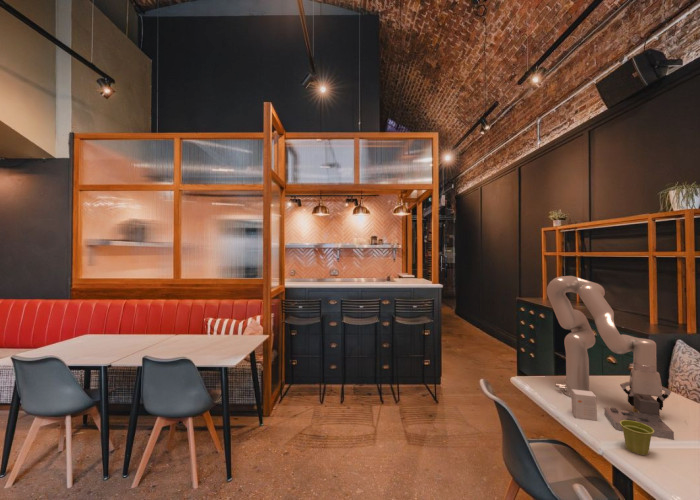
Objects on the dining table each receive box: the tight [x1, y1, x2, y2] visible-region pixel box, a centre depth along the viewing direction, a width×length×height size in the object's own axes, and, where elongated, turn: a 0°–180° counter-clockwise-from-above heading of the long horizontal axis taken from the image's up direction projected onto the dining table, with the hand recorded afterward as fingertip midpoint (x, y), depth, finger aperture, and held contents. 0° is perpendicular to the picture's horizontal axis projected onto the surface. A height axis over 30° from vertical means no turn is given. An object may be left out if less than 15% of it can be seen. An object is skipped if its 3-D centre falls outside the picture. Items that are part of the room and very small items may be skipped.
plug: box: [632, 393, 661, 417], centre depth 144 cm, size 6×9×9 cm
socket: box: [603, 406, 675, 440], centre depth 135 cm, size 18×14×4 cm
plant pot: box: [620, 420, 654, 456], centre depth 119 cm, size 9×9×9 cm
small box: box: [571, 389, 598, 421], centre depth 143 cm, size 8×6×10 cm
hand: (645, 406), depth 144 cm, fingers open, 9 cm apart
